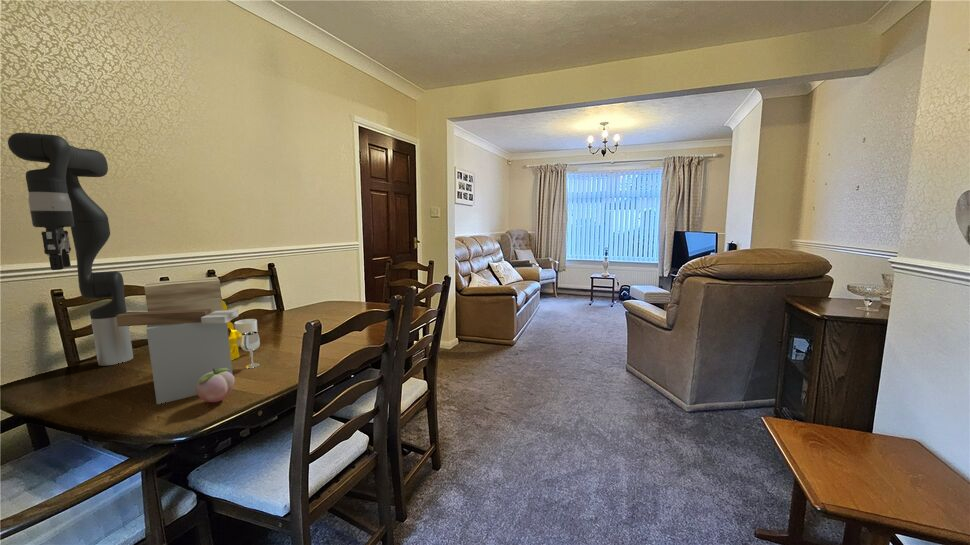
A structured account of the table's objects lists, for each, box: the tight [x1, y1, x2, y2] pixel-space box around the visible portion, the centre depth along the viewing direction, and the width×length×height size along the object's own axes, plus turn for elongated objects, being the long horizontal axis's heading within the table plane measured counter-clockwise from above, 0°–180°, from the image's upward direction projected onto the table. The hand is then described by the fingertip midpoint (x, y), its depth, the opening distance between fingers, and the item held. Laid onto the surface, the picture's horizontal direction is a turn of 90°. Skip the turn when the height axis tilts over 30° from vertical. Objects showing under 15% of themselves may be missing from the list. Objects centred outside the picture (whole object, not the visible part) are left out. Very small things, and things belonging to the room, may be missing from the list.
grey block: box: [145, 322, 234, 405], centre depth 111 cm, size 9×18×22 cm, turn 130°
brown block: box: [116, 309, 239, 327], centre depth 106 cm, size 8×28×3 cm, turn 101°
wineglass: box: [240, 331, 261, 369], centre depth 129 cm, size 6×6×12 cm
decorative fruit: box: [195, 368, 236, 403], centre depth 104 cm, size 9×8×10 cm
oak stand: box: [144, 276, 223, 312], centre depth 119 cm, size 10×18×32 cm, turn 130°
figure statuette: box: [222, 300, 242, 362], centre depth 136 cm, size 18×8×22 cm, turn 149°
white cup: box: [233, 318, 258, 348], centre depth 152 cm, size 8×8×10 cm
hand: (61, 268), depth 103 cm, fingers open, 8 cm apart
